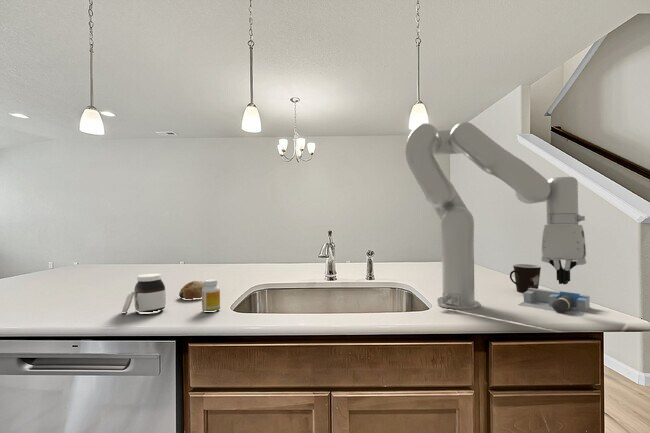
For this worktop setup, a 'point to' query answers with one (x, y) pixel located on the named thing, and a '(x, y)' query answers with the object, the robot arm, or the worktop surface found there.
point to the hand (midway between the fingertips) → (563, 283)
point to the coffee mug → (526, 276)
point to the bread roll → (192, 290)
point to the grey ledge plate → (547, 297)
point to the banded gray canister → (562, 304)
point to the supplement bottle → (210, 295)
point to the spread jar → (147, 294)
